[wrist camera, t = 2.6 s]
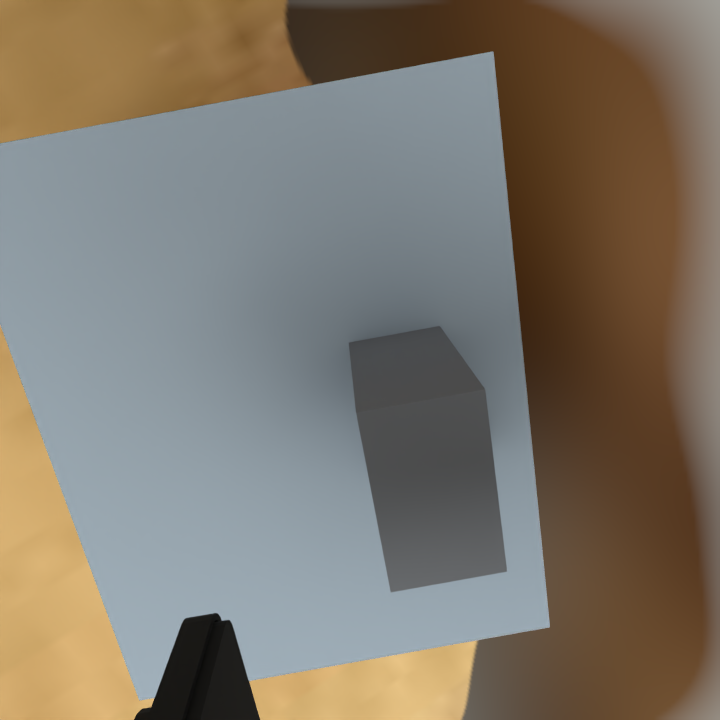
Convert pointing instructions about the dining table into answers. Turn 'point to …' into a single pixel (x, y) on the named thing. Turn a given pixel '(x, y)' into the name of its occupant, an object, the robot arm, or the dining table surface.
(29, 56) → the dining table surface
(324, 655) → the carton lid
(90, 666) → the dining table surface
